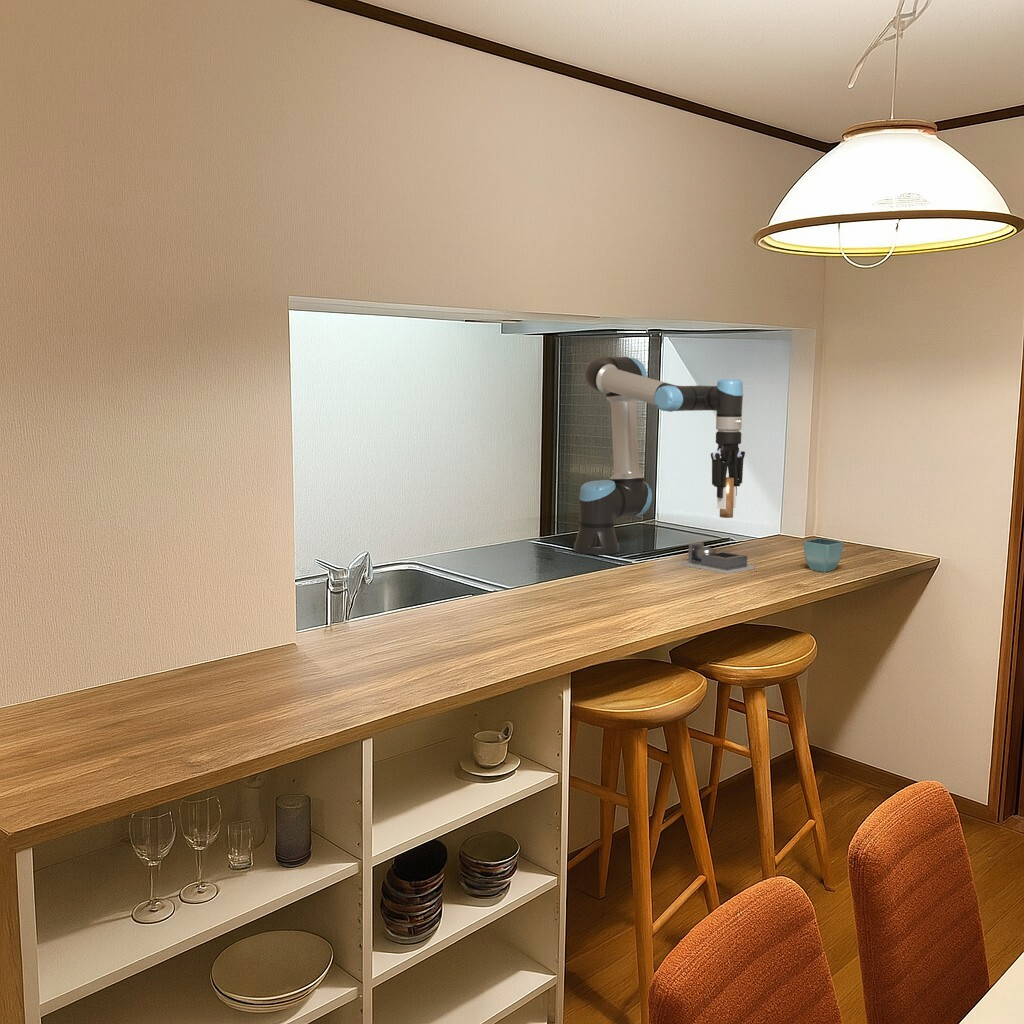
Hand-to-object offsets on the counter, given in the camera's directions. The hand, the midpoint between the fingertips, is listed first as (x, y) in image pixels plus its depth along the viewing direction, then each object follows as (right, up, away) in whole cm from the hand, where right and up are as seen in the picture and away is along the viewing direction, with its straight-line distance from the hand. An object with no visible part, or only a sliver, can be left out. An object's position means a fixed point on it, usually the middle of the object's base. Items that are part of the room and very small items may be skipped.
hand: (726, 507), depth 297 cm
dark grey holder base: (-2, -18, +5) cm, 19 cm away
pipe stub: (0, -3, 0) cm, 3 cm away
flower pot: (+29, -19, 0) cm, 35 cm away
